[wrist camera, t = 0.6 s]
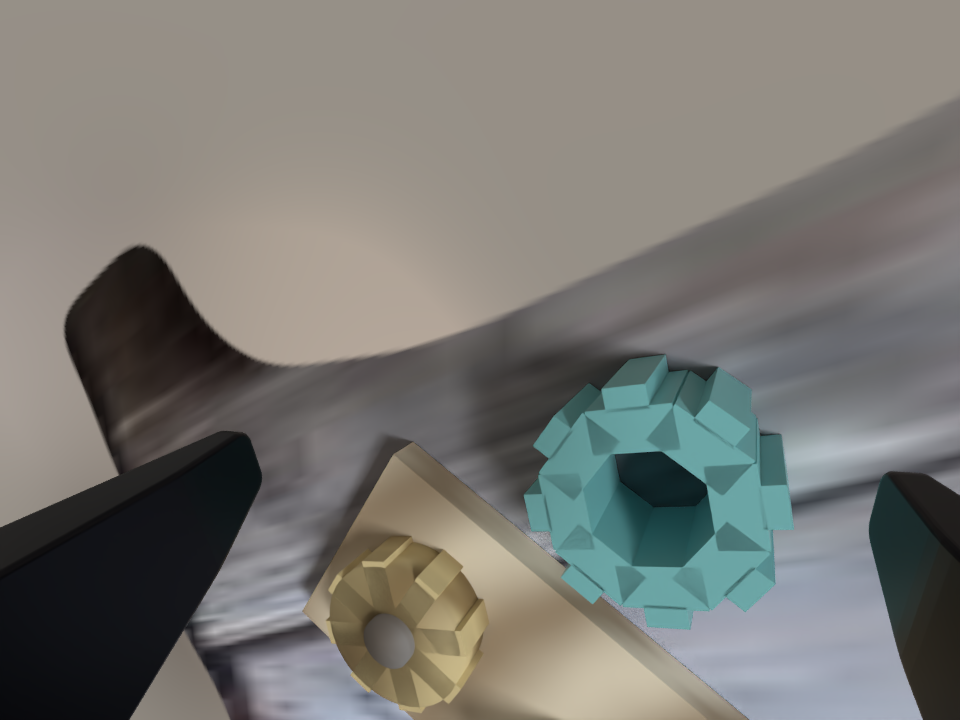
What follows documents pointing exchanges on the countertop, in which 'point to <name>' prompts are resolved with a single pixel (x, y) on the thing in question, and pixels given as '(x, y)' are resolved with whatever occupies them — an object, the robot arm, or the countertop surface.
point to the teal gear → (663, 530)
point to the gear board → (524, 614)
